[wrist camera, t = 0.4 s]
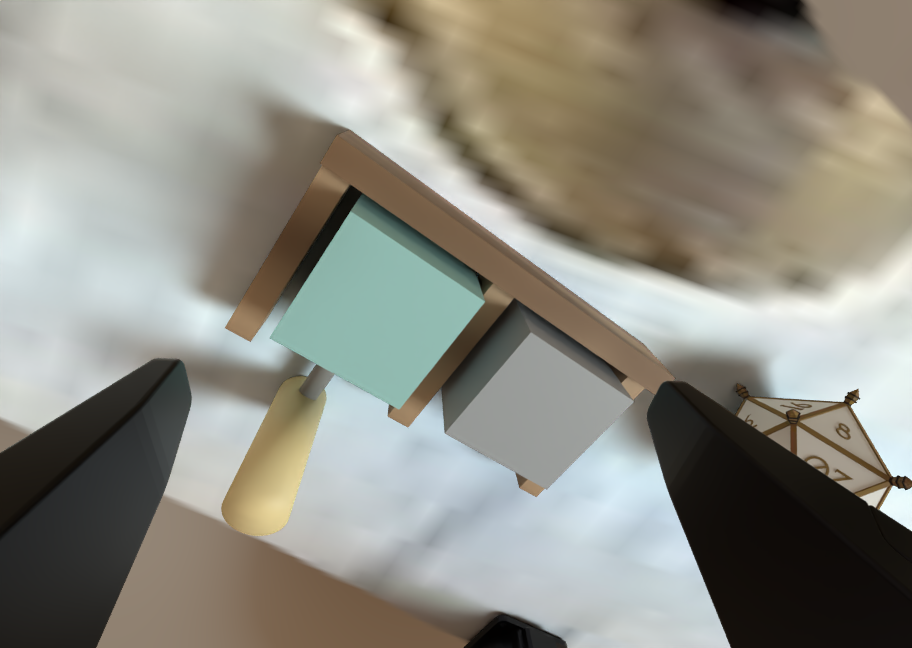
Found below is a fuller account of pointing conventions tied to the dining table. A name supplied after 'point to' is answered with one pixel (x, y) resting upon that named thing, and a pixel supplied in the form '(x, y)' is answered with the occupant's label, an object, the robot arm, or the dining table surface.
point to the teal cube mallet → (352, 346)
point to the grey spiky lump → (825, 440)
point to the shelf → (464, 239)
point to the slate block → (531, 396)
